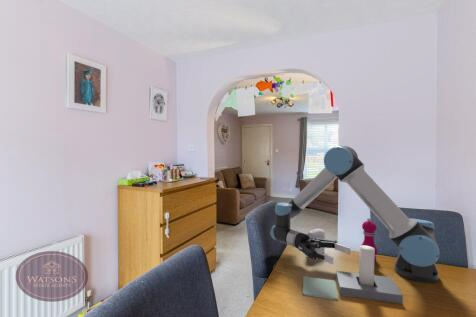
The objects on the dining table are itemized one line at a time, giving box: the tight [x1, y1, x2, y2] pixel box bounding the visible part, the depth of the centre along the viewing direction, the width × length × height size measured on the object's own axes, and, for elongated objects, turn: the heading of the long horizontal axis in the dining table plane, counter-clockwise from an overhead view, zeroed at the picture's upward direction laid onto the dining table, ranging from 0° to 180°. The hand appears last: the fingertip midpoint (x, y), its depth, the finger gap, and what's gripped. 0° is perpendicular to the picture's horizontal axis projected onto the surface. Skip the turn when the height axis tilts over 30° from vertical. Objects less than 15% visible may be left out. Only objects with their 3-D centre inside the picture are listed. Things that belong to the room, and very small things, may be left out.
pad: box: [302, 276, 339, 301], centre depth 93 cm, size 12×12×1 cm
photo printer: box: [307, 228, 326, 253], centre depth 124 cm, size 10×4×12 cm, turn 123°
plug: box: [358, 244, 375, 287], centre depth 92 cm, size 5×5×16 cm
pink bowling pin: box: [360, 217, 378, 263], centre depth 116 cm, size 7×7×20 cm
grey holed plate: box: [335, 270, 404, 305], centre depth 92 cm, size 20×12×3 cm, turn 74°
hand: (341, 255), depth 99 cm, fingers open, 13 cm apart
